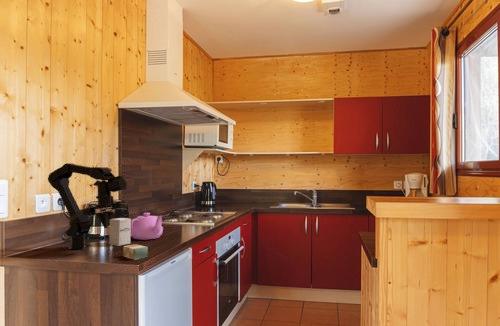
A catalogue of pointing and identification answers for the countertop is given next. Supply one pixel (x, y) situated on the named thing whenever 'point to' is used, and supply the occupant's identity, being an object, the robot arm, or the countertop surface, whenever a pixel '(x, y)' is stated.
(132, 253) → the birch block
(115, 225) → the supplement box
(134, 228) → the teapot
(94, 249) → the countertop surface
